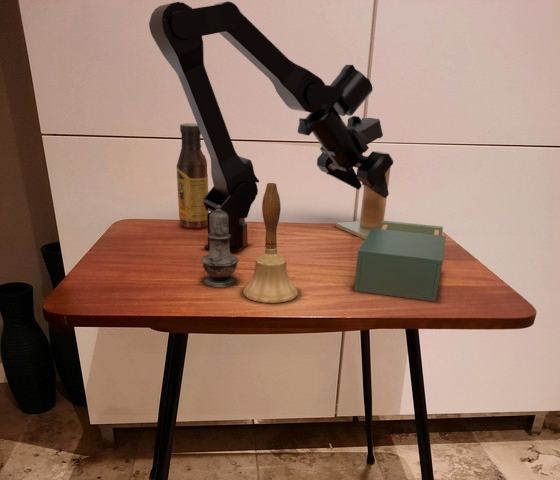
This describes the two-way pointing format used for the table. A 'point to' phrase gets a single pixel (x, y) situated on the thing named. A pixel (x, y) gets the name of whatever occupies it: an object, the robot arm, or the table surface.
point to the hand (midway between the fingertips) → (372, 191)
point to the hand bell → (270, 259)
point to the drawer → (411, 227)
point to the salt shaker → (219, 252)
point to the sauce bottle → (192, 178)
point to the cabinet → (400, 264)
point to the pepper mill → (373, 207)
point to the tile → (354, 228)
